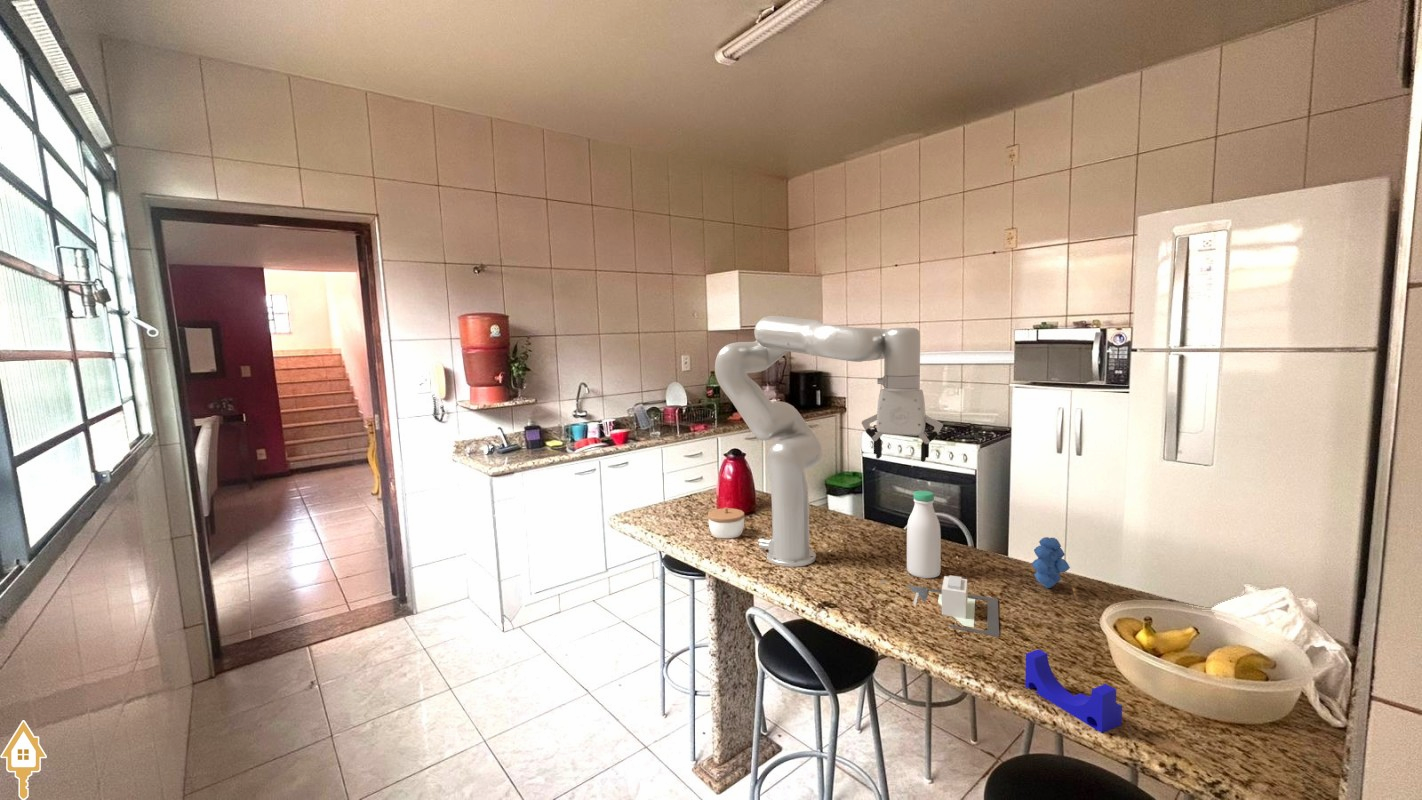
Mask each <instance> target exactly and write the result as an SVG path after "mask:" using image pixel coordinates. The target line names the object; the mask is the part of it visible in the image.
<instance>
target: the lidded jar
mask: <svg viewBox="0 0 1422 800" xmlns="http://www.w3.org/2000/svg"><path fill="white" fill-rule="evenodd" d="M707 519H708V526H709V531H710V533H711V535H712V536H714V537H716V538H719V539H734V538H738V537H740V536H741V535H742V533H743V531H744V527H745V512H744V511H743V510H741V509H738V508H729V507H723V508H717V509H714V510H713V509H712V510H711V511H709V512H708V514H707Z"/></svg>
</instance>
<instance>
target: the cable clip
mask: <svg viewBox="0 0 1422 800" xmlns="http://www.w3.org/2000/svg"><path fill="white" fill-rule="evenodd" d="M1024 677H1025V685H1024V686H1025V688H1027V689H1029V690H1032V689H1035V688H1036V692H1035V694H1036V695H1038V696H1041V697H1042V698H1043V699H1045V700H1046V701H1048V702H1050V703H1052V704H1053V705H1055V706H1057V707H1058V708H1060V709H1061V710H1063V711H1064V712H1067V713H1068V714H1069V715H1071V716H1073V717H1075V718H1076V719H1078V720H1080V721H1081V722H1083V723H1084V724H1085V725H1088V726H1089V727H1091V728H1093V729H1094V730H1096V731H1098V732H1099V733H1101V734H1103V733H1105V732H1107V731H1110V730H1113V729H1115V728H1118V727H1121V726H1122V724H1123V723H1122V722H1123V721H1122V720H1123V705H1121V704H1119V703H1117V689H1116V688H1114V687H1113V686H1111V685H1108V684H1107V683H1104V684H1102V685H1099V686H1097V687H1095V688H1092V689H1091V694H1090V696H1089V695H1086V694H1083V693H1078V694H1076V695H1074V694H1072V693H1071V692H1070V691H1069V690H1067V689H1066V688H1065V687H1063V685H1062V684H1061V683H1060V682H1059V680H1058V679H1057V678H1056V676H1055V675H1054V673H1053V671H1052V669H1051V666H1050V664H1049V657H1048V653H1047V652H1045V651H1044V650H1041V649H1036V650H1033V651H1030V652H1027V653H1025V676H1024Z"/></svg>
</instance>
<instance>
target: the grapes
mask: <svg viewBox="0 0 1422 800" xmlns="http://www.w3.org/2000/svg"><path fill="white" fill-rule="evenodd" d="M1038 543H1039V545H1038V546H1036V547H1035V548H1034V549H1033V552H1034V553H1035V555H1036V557H1037V558H1036V559H1034V560H1033V561H1032V562H1031V564H1032V567H1033V569H1034V570H1035V571H1036V572H1035V573H1034V574H1033V575H1034V577H1035V580H1036V581H1037V582H1038V583H1040V584H1041V585H1042V586H1043V587H1045V588H1046V589H1051V588H1052V587H1054V586H1055V585H1056V584H1057V583H1059V582H1060V581H1061V580H1062V577H1061V575H1060V574H1061V573H1066V572H1068V570H1070V569H1071V567H1070V565H1069V563H1068V562H1067V561H1066V560H1065V559H1063V558H1064V557H1065V555H1066V554H1065V553H1064V550H1063V549H1062V545H1061V543H1060V542H1059V540H1058V538H1056V537H1048V536H1045V537H1044V536H1043V538H1041V539H1040V540H1039V541H1038Z"/></svg>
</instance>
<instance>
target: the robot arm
mask: <svg viewBox="0 0 1422 800" xmlns="http://www.w3.org/2000/svg"><path fill="white" fill-rule="evenodd" d="M753 332H754V334H753V335H754V338H755V341H739V342H738V341H737V342H732V343H728V344H726V345H725V346H723V347H722V348H721V349H720V350H719V351H718V353H717V355H716V359H715V362H714V363H715V364H714V372H715V373H714V374H715V377H716V381H717V383H718V385H719V386H720V388H721V390H722V391H723V393H724V394H725V395H726V396H727V398H728V399H729V400H730V401H731V403H732V404H733V406H734V408H735V409H736V410H737V413H738V414H739V415H740V416H741V418H742V419H743V421H744V422H745V424H746V425H747V427H748V428H749V430H750V431H751V432H752V434H753V436H754V437H756V438H757V439H758V440H759V441H765V442H766V441H772V440H775V439H779V440H777V441H776V442H774V443H773V444H772V445H771V446H770V448H769V450H768V452H767V457H766V464H767V469H768V474H769V481H770V495H771V524H772V525H771V533H772V534H771V535H772V537H771V538H769V539H767V538H765V537H764V538H762V537H759V538H758V542H757V543H758V546H759V548H760V549H767V550H768V551H767V553H766V559H767V560H768V561H769V562H770V563H772V564H775V565H778V566H780V567H789V568H792V567H793V568H796V567H797V568H798V567H805V566H807V565H808V566H809V565H811V564H813V563H814V562H815V561H816V559H817V558H816V557H817V555H816V552H815V551H814V550H812V549H810V508H809V507H810V506H809V505H810V502H809V501H810V500H809V487H808V486H809V485H808V483H807V480H806V476H805V475H806V474H805V471H807V470H809V469H812V468H814V467H815V466H817V465H818V464H819V462H820V461H821V459H822V455H823V449H822V444H821V442H820V440H819V439H818V437H817V436H816V434H815V433H814V431H813V430H812V429H811V427H810V426H809V425H808V423H807V421H805V419H804V418H803V416H802V414H800V412H799V411H798V409H797V408H795V407H794V406H793V405H792V404H790V403H789V402H786V401H775V402H772V401H771V400H770V399H769V398H768V396H767V395H766V393H765V392H764V390H763V389H762V388H761V386H760V385H759V384H758V383H757V382H755V381H754V380H753V378H751V377H750V376H749V375H748V374H754V373H761V372H763V371H766V370H767V369H769V368H770V367H771V366H772V365H774V364H775V363H776V362H777V361H778V360H780V359H781V358H783V356H786V355H787V354H788V353H791V352H792V353H797V354H805V355H808V356H809V355H811V356H814V357H815V356H817V357H821V358H828V359H831V360H840V361H847V362H857V363H858V362H859V363H861V362H870V361H879V360H884V361H883V365H884V366H883V376H882V377H878V378H877V382H876V383H877V384H878V385H882V386H883V387H882V388H883V389H882V388H881V389H880V390H879V394H878V400H877V411H876V414H874V415H872V416H870V417H867V418H866V419H863V420H862V421H861V425H862V427H863V429H864V430H865V433H866V434H867V435H868V436H869V438H871V440H872V441H873V455H875V458H876V459H877V460H878V459H880V458H881V457H882V455H883V452H882V451H883V450H882V449H883V448H882V447H883V446H882V444H883V440H882V439H881V436H883V435H890V436H891V435H892V436H893V435H895V436H910V437H911V436H913V437H914V436H918V437H919V439H920V440H921V441H922V443H921V444H920V448H921V449H920V461H921V462H922V463H924V462H926V459H927V458H929V457H930V456H929V455H930V443H931V442H932V441H933V440H934V439H936V437H937V436H939V433H940V432H941V431H942V428H943V426H944V423H942V422H940V421H939V420H936V419H934V418H933V417H931V416H928V415H926V402H925V396H924V391H923V389H920V383H921V381H920V379H921V376H920V375H921V374H920V373H921V371H920V370H921V332H920V330H919V329H918V328H915V327H892V328H888V329H885V328H880V327H879V328H877V327H853V326H843V325H833V324H826V323H822V322H821V321H820V320H818V319H817V320H816V319H811V318H808V319H807V318H798V317H792V316H787V315H768V316H764V317H762V318H761V319H759V321H758V322H757V323H756V324H755V326H754V331H753ZM874 422H876V431H877V432H875V430H874V429H872V427H871V424H872V423H874ZM926 423H927V424H928V425H930V426H932V427H933V430H932V432H931V433H929V434H927V432H926V425H927V424H926Z"/></svg>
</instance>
